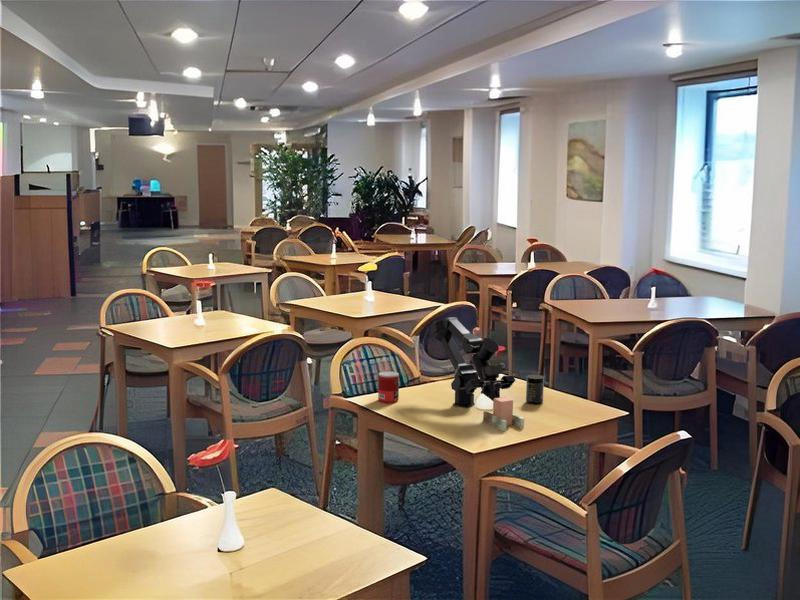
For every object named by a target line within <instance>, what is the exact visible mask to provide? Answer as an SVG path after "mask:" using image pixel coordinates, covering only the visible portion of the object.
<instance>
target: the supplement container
mask: <svg viewBox="0 0 800 600" xmlns="http://www.w3.org/2000/svg"><path fill="white" fill-rule="evenodd" d="M544 383H545V376H543V375H539V374H528V375H526V385H525V386H526V387H525V389H526V390H525V391H526V393H525V402H526V403H527V404H528V405H532V404H533V405H534V406H535V405H542V404H543V403H544V389H545V388H544V387H545V385H544Z"/></svg>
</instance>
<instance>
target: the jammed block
mask: <svg viewBox="0 0 800 600" xmlns="http://www.w3.org/2000/svg"><path fill="white" fill-rule="evenodd" d="M492 402H493V405H492V406H493V407H492V409H493V410H492V414H493V415H495V416H497V417H500V418H502V419H504V420H506V421H507V422H506V427H507V426H512V425H513V424H512V418H513V413H514V412H513V411H514V400H513V399H511V398H509V397H506V396H500V398H493V401H492Z"/></svg>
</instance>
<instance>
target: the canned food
mask: <svg viewBox="0 0 800 600" xmlns="http://www.w3.org/2000/svg"><path fill="white" fill-rule="evenodd" d="M377 379H378V380H377V381H378V382H377V384H378V389H377V392H378V402H380V403H382V404H395V403H398V401H399V399H400V398H399V391H400V389H399V388H400V387H399V386H400V385H399V384H400V373H399V372H397V371H387V370H386V371H381V372H379V373H378V377H377Z"/></svg>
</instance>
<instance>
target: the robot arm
mask: <svg viewBox="0 0 800 600" xmlns="http://www.w3.org/2000/svg"><path fill="white" fill-rule="evenodd" d="M429 332H430V334H431V335H432V336H433V338H434V339H435V340H436V341H438V342H439V343H440V344H441V345H442V347H443V349H444V351H445V353H446V355H447V356H448V359H449V361H450V363H451V365H452V366H453V367H452V368H453V369H454V376H453V378H454V379H453V380H452V382H451V383H450V387H451V390H453V391H454V403H452V406H455V407H456V406H457V407H461V408H467V409H468V408H469V407H472V406H474V405H475V404H476V403H475V391H476V390H477V389H478V388H480V389H481V391H480V394H481V395H484V396H485V397H487V398H488V399H489V400H491V401H492V402H493V398H500V397H501V396H500V394H501V393H500V392H501V390H507V389H508V390H509V389H510V388H511V387H512V385H513V384H514V383H515V382H516V379H515V375H513V374H507V375H503V374H504V372H506V371H507V366H506V364H505V362H500V363H497V364H496V365H495V364H494V365H493V364H491V363H490V360H492V359H493V358H494V356H495V355H496V353H497V352H498V351H499V344H498V343H497V342H496V341H494V340H493V339H491V337H484V339H483V338H481V337H480V336H479V335H476V334H473V333H472V332H470V331H469V330H468V329H467V328H466V327H465V326H464V325H463V324H462V323H461V322H460V321H459V318H458V317H455V316H453V317H451V316H450V317H445V318H443V319H441V320H438V321H432V323H431V325H430V326H429ZM453 335H454V337H455V338H456V339H457V340H458V341H459V342H460V343H461V349H462V350H463V351H464V353H465V354H466V355H472V354H473V355H472V356H470V360H469V364H467V363H466V361H465V359H464V357H463V355H462V353H461V351H460V348H459V347H458V345H457V343H456V342H455V339H454V338H453ZM500 375H503V376H502V377H501V379H498V378H499V377H500Z"/></svg>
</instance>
